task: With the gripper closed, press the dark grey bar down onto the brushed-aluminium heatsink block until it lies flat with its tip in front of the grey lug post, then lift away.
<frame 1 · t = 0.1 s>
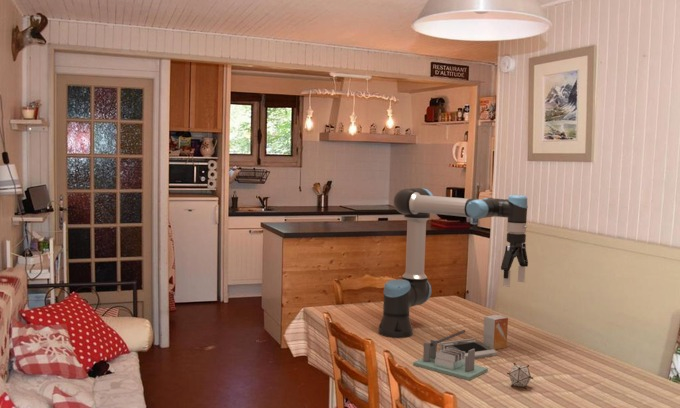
hand: (513, 284, 274), 28 cm above the table, fingers open, 13 cm apart
game die: (519, 387, 233), on the table
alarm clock: (468, 354, 272), on the table
base board: (450, 368, 251), on the table
small box: (494, 347, 280), on the table
dark grey bar: (445, 338, 252), point 11 cm above the table, hinge at 30.0°
heatsink: (450, 368, 251), resting on base board
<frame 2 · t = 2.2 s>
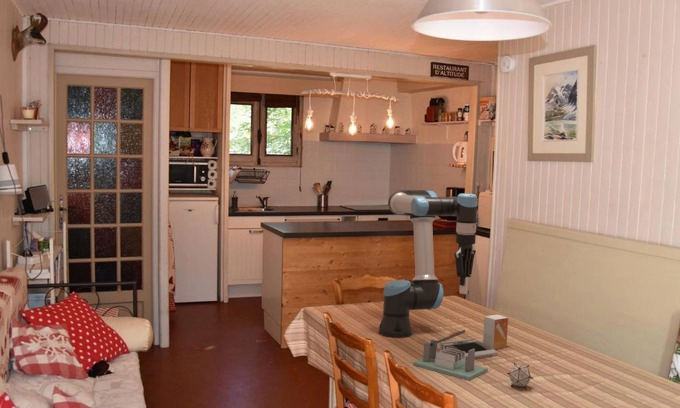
hand: (463, 293, 260), 26 cm above the table, fingers closed
nothing on the table moved.
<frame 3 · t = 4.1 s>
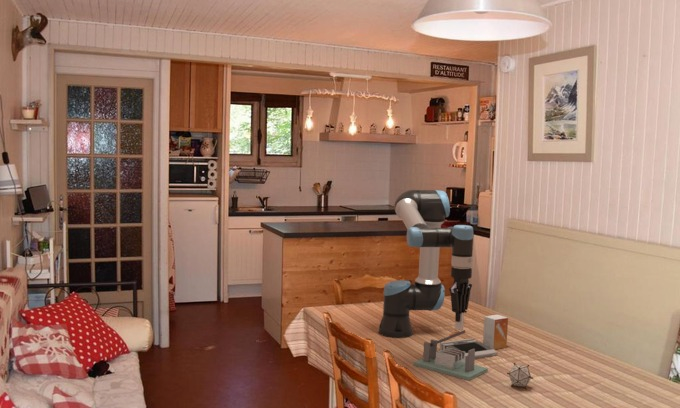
hand: (459, 329, 248), 15 cm above the table, fingers closed
dark grey bar: (445, 338, 251), point 11 cm above the table, hinge at 29.5°, touching gripper
everything else where it was.
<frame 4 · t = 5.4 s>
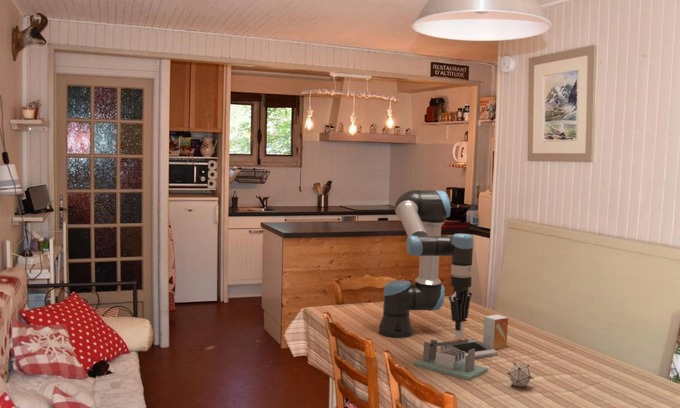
hand: (459, 338, 248), 12 cm above the table, fingers closed
dark grey bar: (447, 342, 251), point 9 cm above the table, hinge at 17.4°, touching gripper
everything else where it was.
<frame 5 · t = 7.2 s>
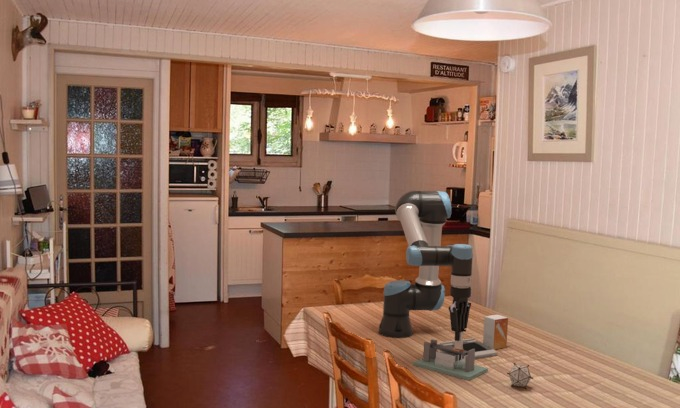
hand: (458, 348, 248), 8 cm above the table, fingers closed
dark grey bar: (447, 348, 251), point 7 cm above the table, hinge at 0.7°, touching gripper
everything else where it was.
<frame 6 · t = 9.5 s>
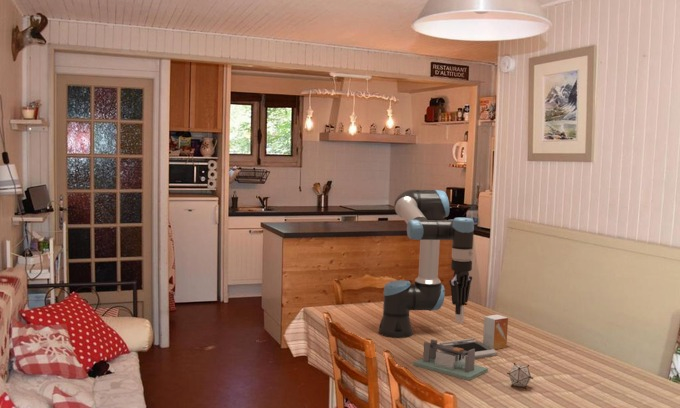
hand: (459, 322, 248), 18 cm above the table, fingers closed
dark grey bar: (447, 348, 251), point 7 cm above the table, hinge at 0.6°
everything else where it was.
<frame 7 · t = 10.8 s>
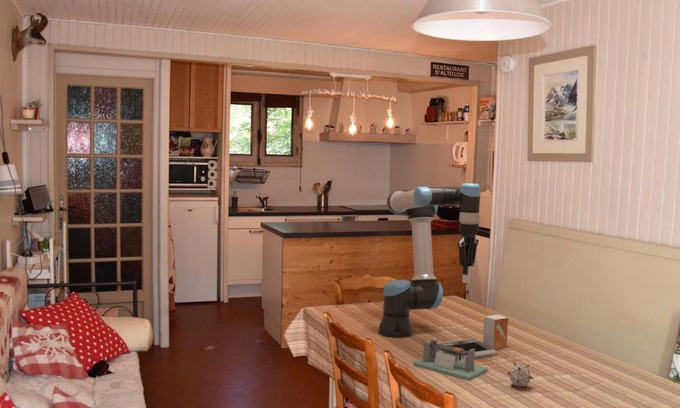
hand: (466, 282, 262), 30 cm above the table, fingers closed
nothing on the table moved.
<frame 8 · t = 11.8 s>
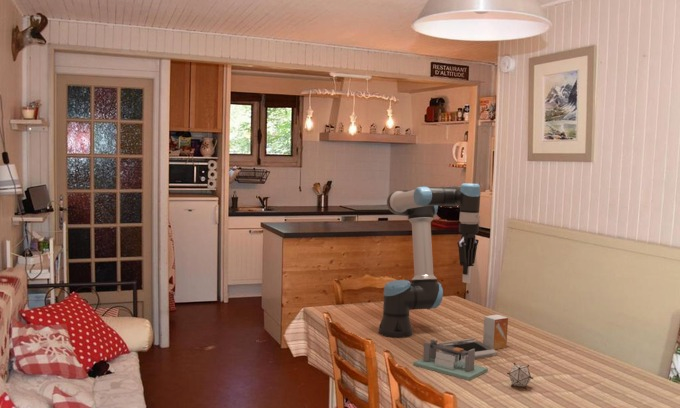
hand: (466, 282, 262), 30 cm above the table, fingers closed
nothing on the table moved.
at the end: dark grey bar at +1° (first picture: +30°); dark grey bar touching nothing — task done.
